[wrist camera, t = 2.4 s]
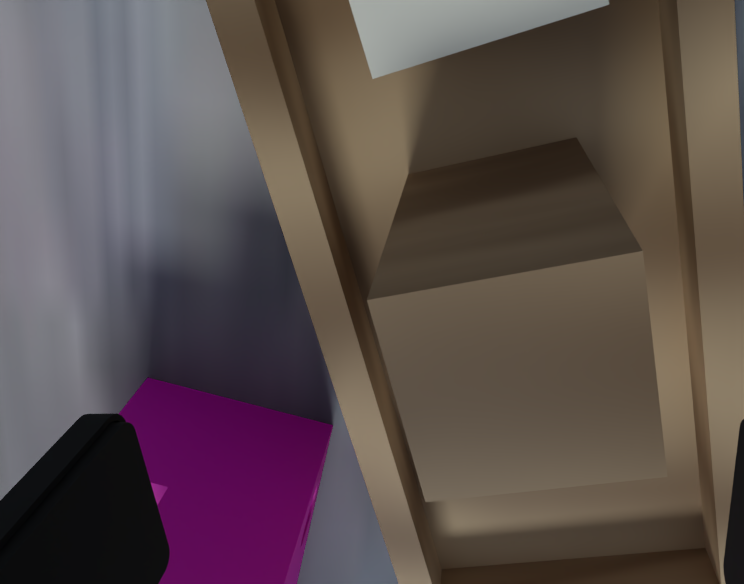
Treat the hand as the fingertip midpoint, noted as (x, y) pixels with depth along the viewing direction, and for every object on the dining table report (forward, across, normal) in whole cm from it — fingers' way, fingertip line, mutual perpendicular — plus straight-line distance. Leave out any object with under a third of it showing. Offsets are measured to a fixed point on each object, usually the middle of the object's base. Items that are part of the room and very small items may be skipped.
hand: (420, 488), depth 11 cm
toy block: (+10, +9, +11) cm, 18 cm away
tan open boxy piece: (+10, -2, -2) cm, 10 cm away
